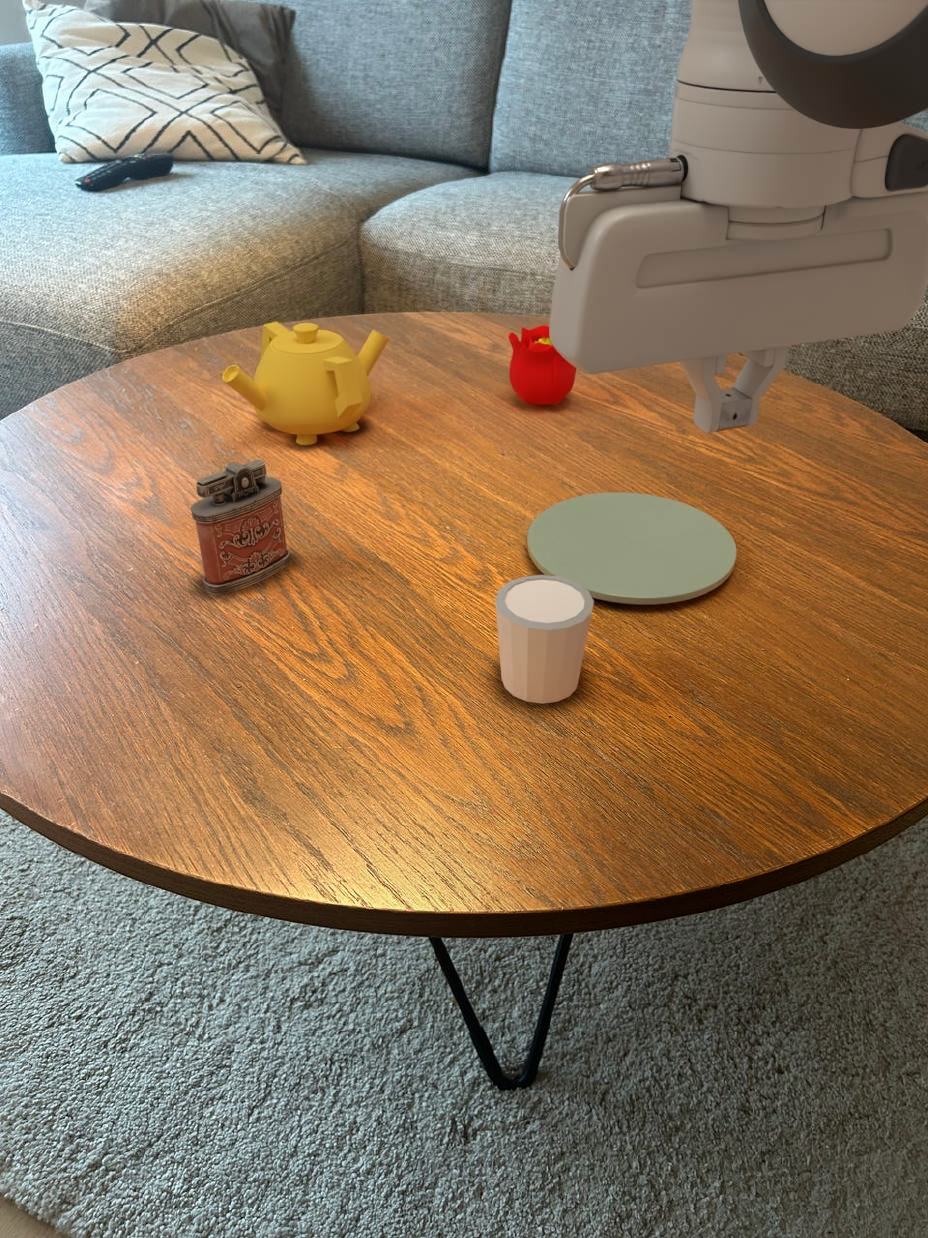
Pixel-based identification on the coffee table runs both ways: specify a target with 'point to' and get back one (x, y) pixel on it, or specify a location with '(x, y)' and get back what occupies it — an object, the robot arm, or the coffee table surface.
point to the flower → (539, 368)
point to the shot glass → (542, 636)
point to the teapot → (309, 380)
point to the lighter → (240, 527)
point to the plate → (632, 547)
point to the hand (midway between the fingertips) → (723, 426)
